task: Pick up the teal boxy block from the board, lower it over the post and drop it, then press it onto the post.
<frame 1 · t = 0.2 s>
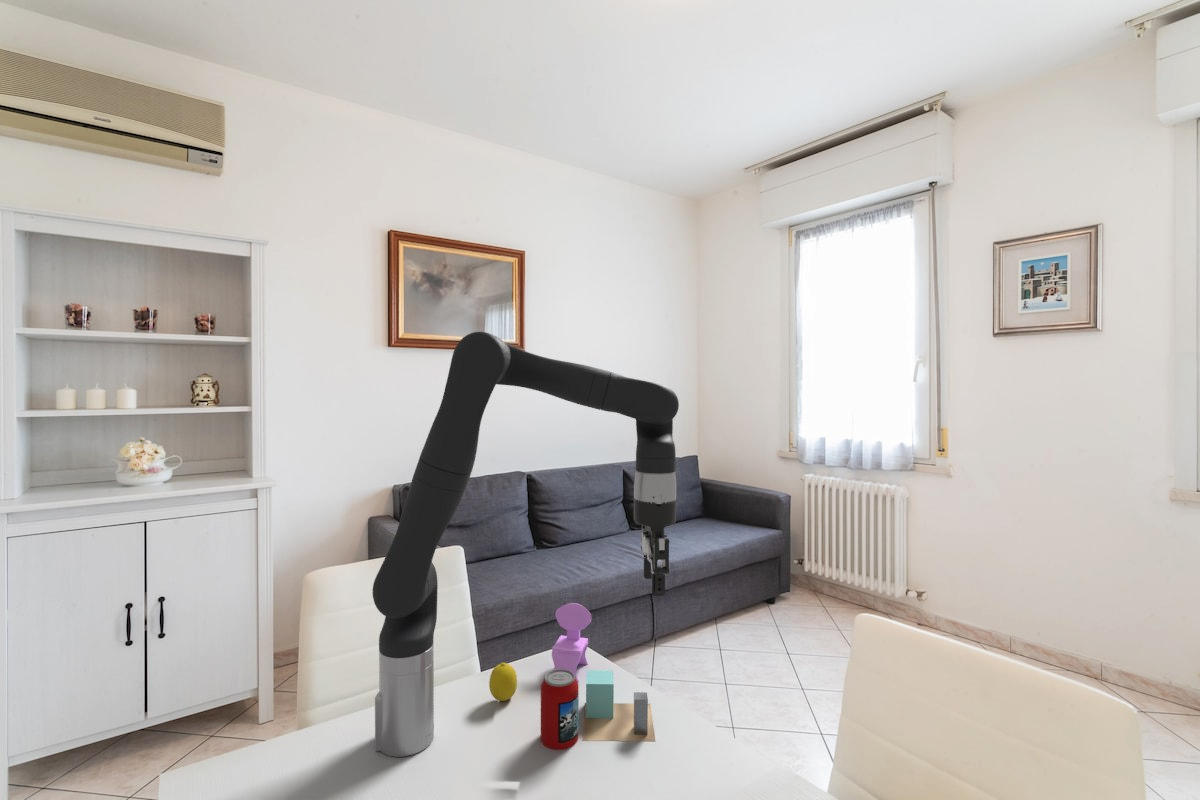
hand: (653, 586, 103), 28 cm above the table, fingers open, 8 cm apart
toy chair: (570, 676, 127), on the table
teal boxy block: (599, 710, 112), point 1 cm above the table, touching board
board: (618, 725, 109), on the table
beverage can: (559, 743, 104), on the table
lemon: (503, 703, 116), on the table
post: (640, 730, 106), resting on board
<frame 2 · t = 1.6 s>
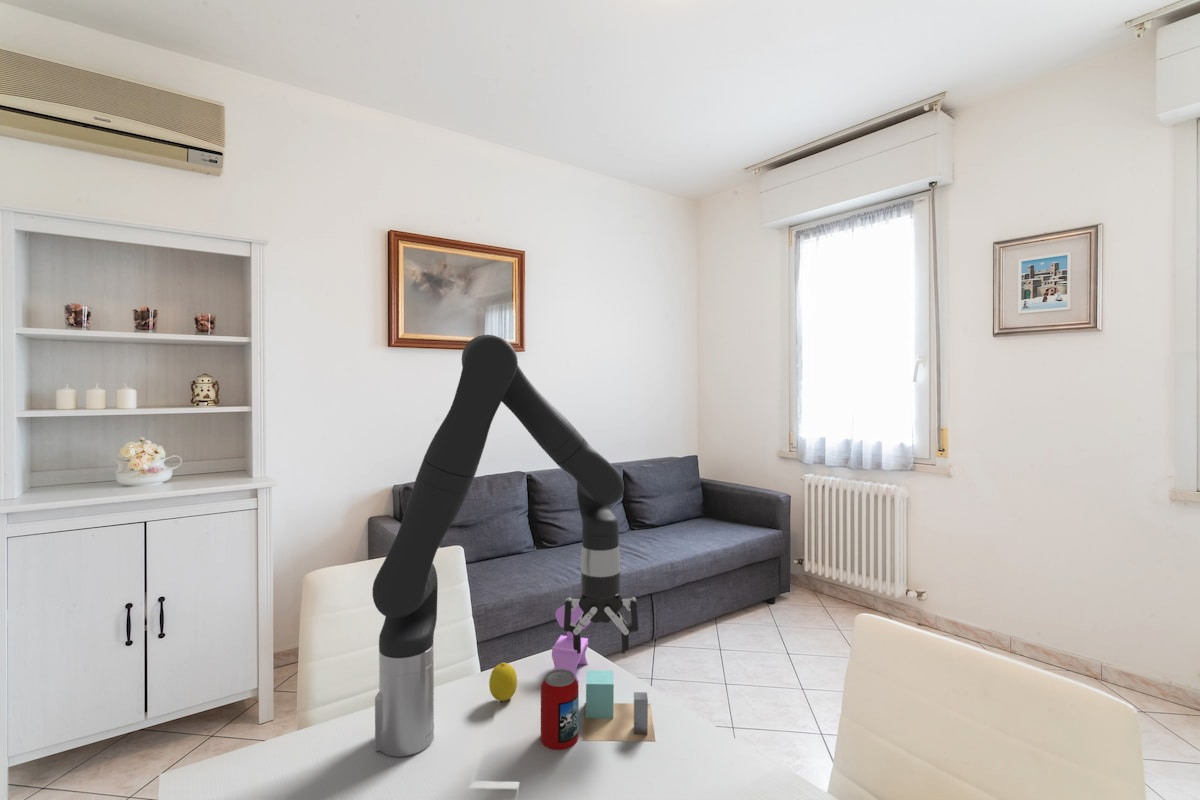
hand: (601, 651, 112), 12 cm above the table, fingers open, 8 cm apart
nothing on the table moved.
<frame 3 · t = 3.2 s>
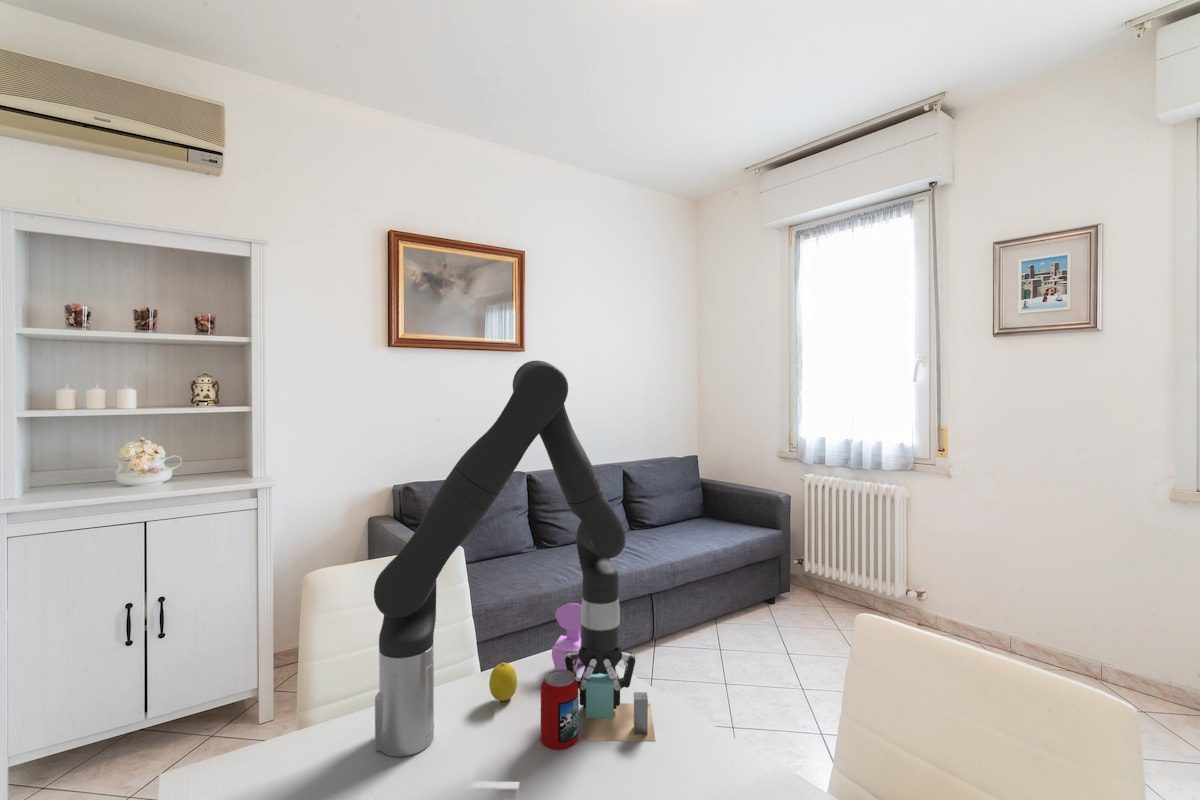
hand: (599, 706, 112), 2 cm above the table, fingers closed on teal boxy block, 5 cm apart
teal boxy block: (599, 710, 112), point 1 cm above the table, touching board, gripper
everything else where it was.
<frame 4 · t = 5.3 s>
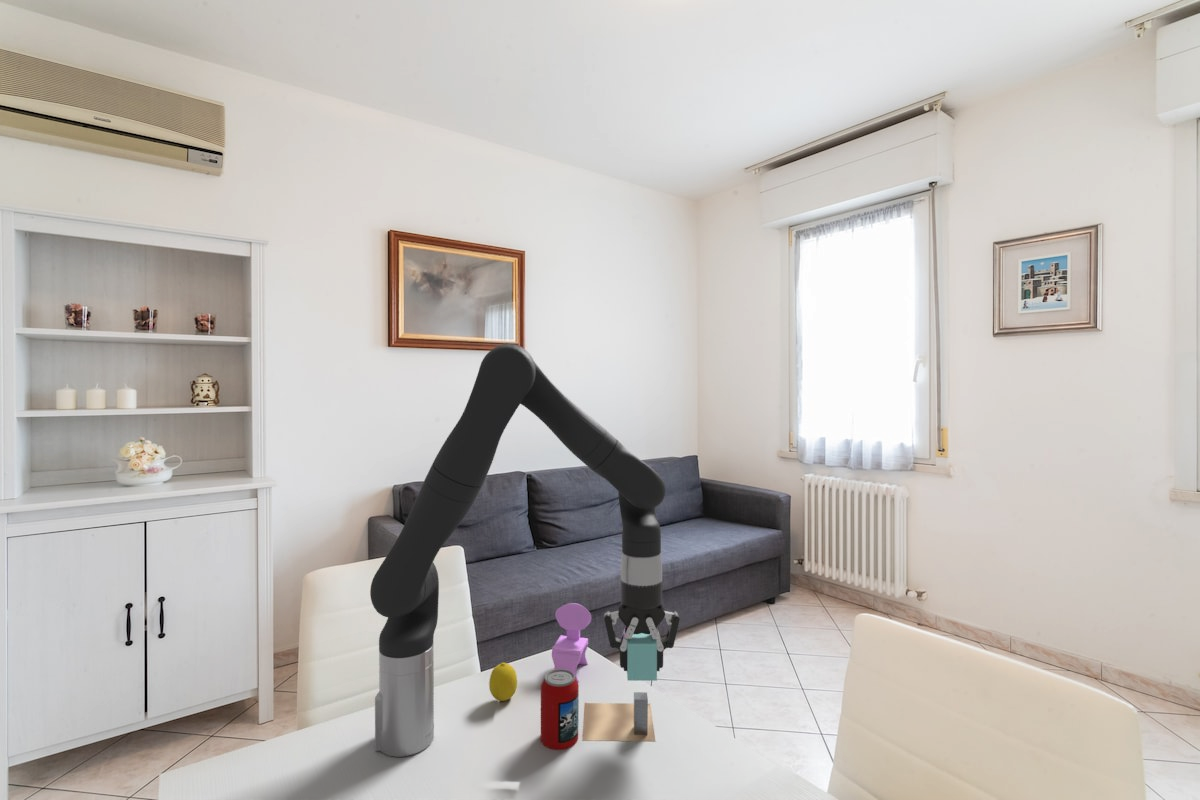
hand: (641, 668, 105), 12 cm above the table, fingers closed on teal boxy block, 5 cm apart
teal boxy block: (641, 673, 105), point 12 cm above the table, touching gripper
everything else where it was.
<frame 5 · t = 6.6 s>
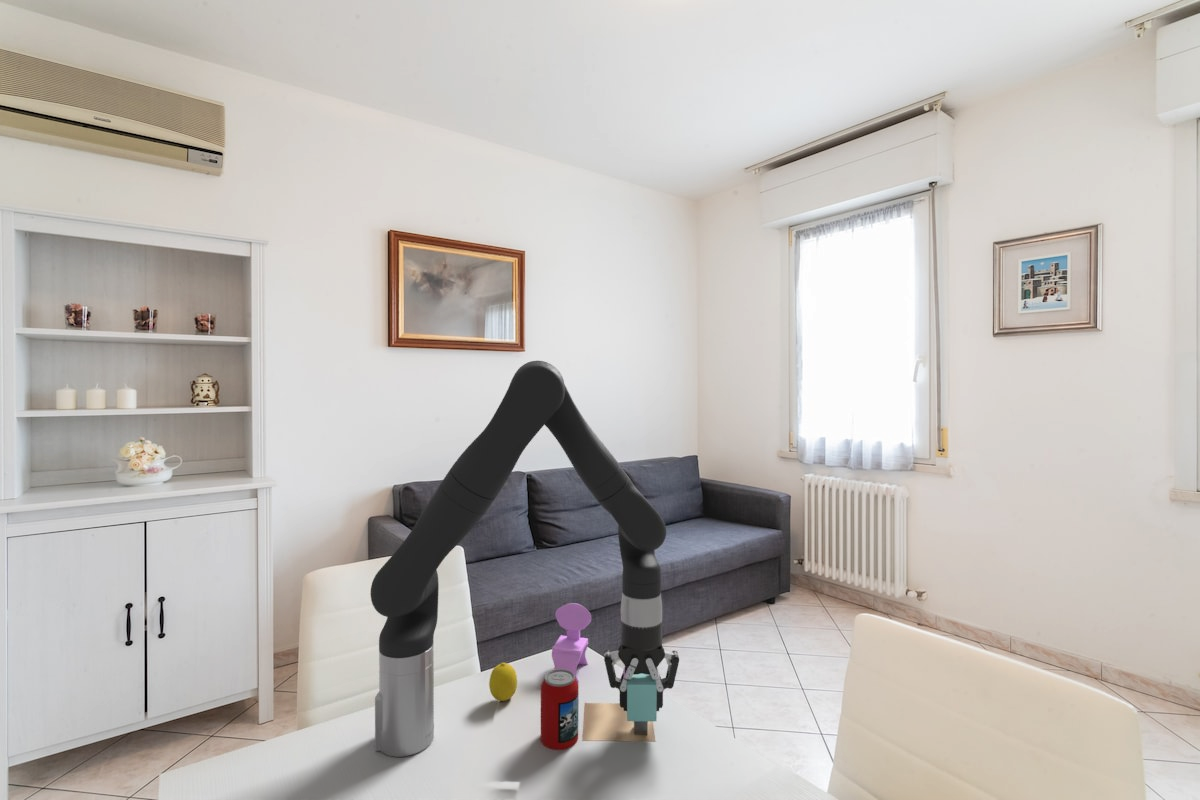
hand: (641, 708, 106), 5 cm above the table, fingers closed on teal boxy block, 5 cm apart
teal boxy block: (641, 712, 106), point 4 cm above the table, touching gripper
everything else where it was.
when the fingers open (3 cm above the table, at t = 7.5 s): teal boxy block drops 1 cm, resting on post.
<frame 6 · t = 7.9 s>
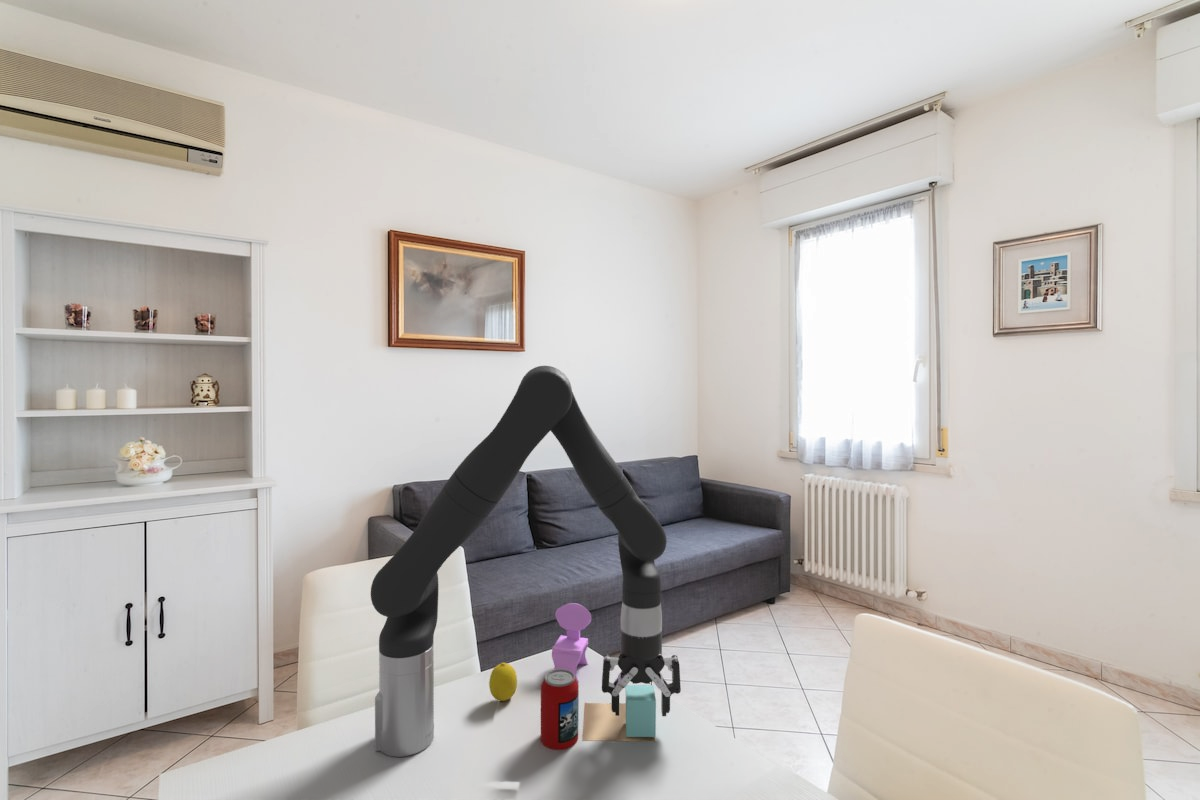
hand: (640, 713, 106), 4 cm above the table, fingers open, 8 cm apart
teal boxy block: (640, 728, 106), point 1 cm above the table, touching post
everything else where it was.
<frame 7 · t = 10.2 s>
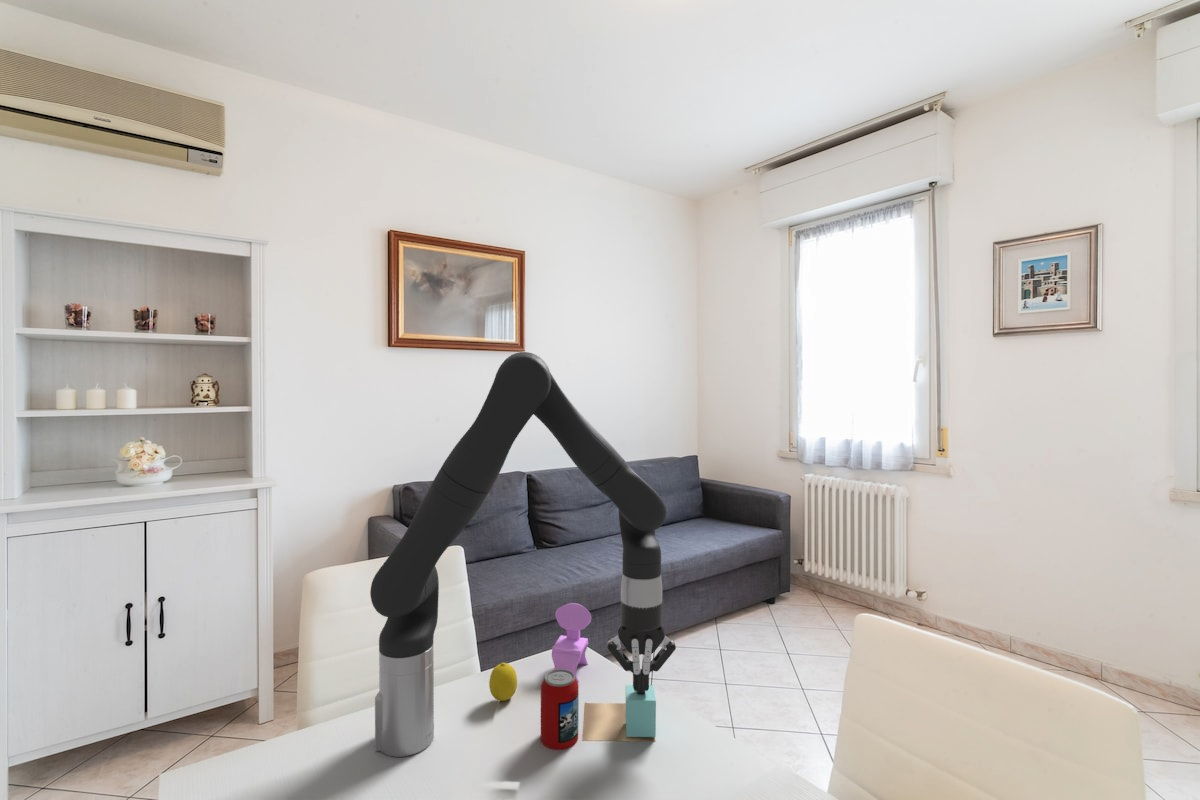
hand: (640, 691, 105), 8 cm above the table, fingers closed
nothing on the table moved.
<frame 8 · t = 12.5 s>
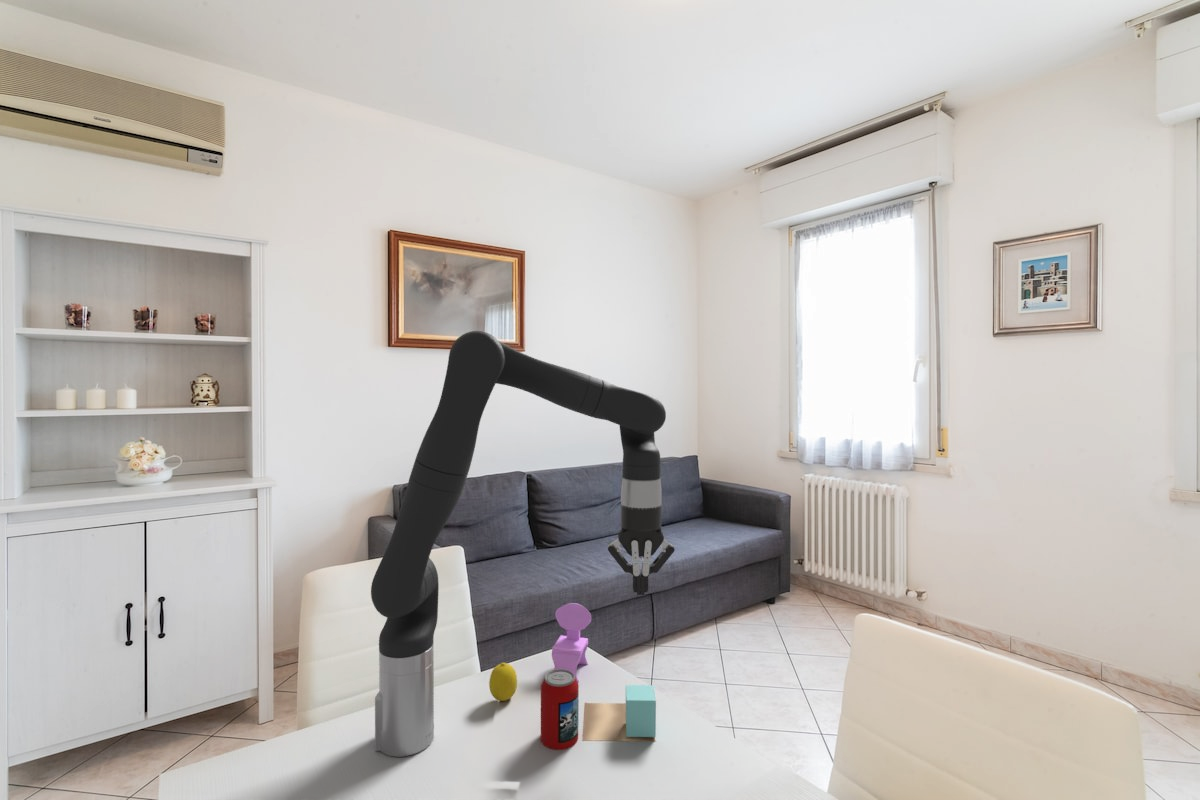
hand: (640, 594, 108), 25 cm above the table, fingers closed
nothing on the table moved.
at the end: teal boxy block 0.1 cm from the post (horizontally); teal boxy block point 1.3 cm above the table; the gripper is holding nothing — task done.
